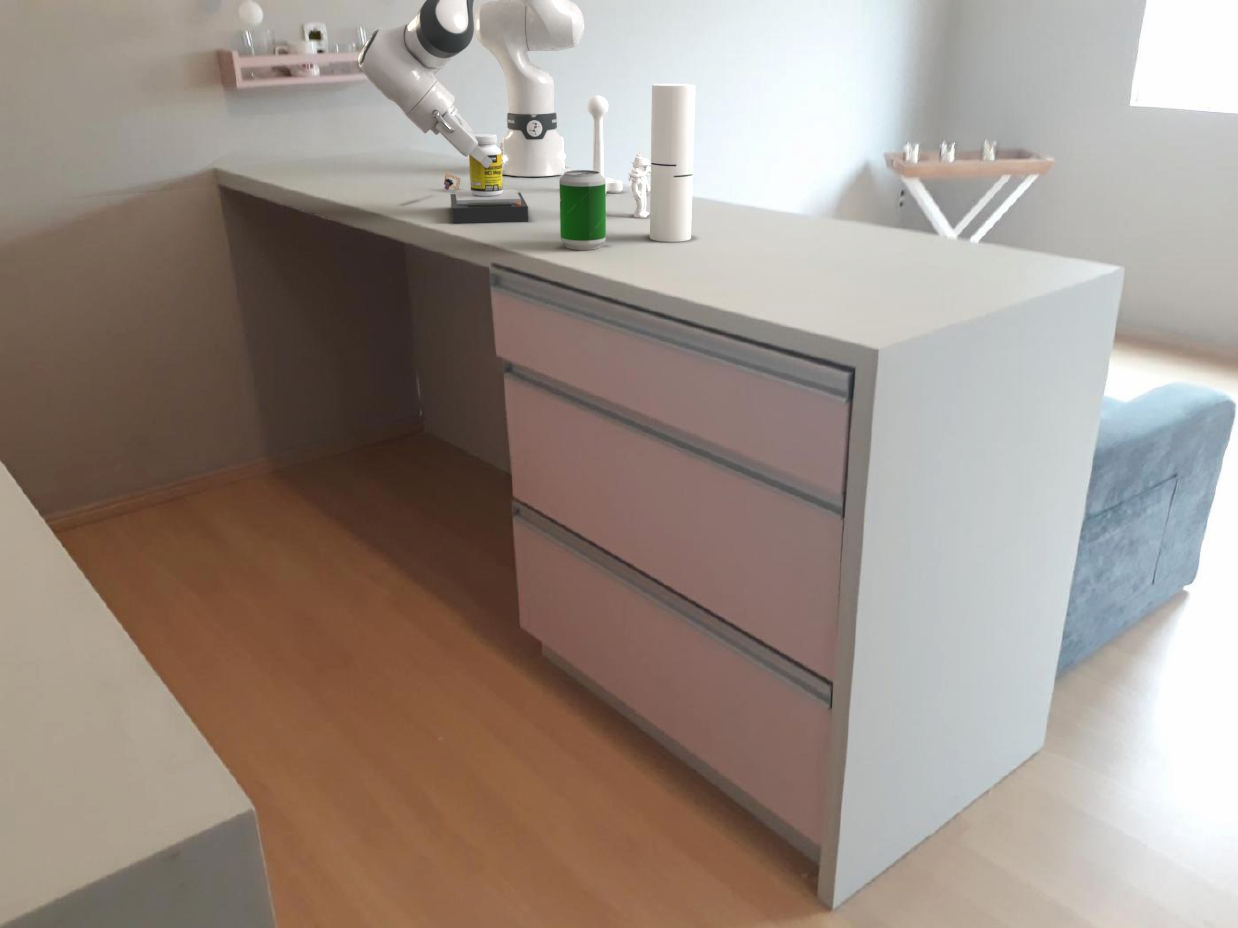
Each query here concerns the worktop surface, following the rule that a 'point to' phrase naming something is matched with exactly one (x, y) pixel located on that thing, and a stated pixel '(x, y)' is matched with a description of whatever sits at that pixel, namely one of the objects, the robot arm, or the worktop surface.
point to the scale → (488, 207)
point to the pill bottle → (486, 178)
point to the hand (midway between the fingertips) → (488, 162)
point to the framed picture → (450, 182)
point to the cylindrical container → (671, 161)
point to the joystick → (601, 141)
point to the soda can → (582, 209)
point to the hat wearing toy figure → (640, 185)
